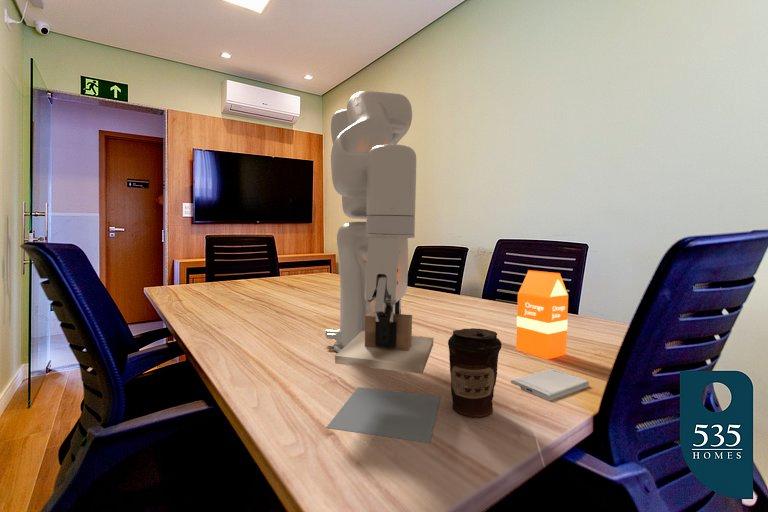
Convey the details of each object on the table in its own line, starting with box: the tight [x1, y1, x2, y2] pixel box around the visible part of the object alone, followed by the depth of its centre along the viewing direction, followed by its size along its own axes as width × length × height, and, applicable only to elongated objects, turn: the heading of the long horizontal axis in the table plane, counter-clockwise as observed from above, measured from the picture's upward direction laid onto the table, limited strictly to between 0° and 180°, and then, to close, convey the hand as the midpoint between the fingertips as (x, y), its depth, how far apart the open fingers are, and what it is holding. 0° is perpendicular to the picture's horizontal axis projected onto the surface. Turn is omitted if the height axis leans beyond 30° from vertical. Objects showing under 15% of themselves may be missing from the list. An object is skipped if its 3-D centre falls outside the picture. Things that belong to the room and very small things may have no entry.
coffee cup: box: [447, 327, 502, 420], centre depth 59 cm, size 9×8×13 cm
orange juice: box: [515, 269, 569, 360], centre depth 91 cm, size 8×9×20 cm
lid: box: [334, 312, 435, 375], centre depth 59 cm, size 13×13×6 cm
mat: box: [325, 386, 441, 444], centre depth 59 cm, size 15×15×1 cm
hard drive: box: [510, 368, 590, 402], centre depth 70 cm, size 2×8×12 cm
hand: (388, 342), depth 59 cm, fingers closed on lid, 2 cm apart
